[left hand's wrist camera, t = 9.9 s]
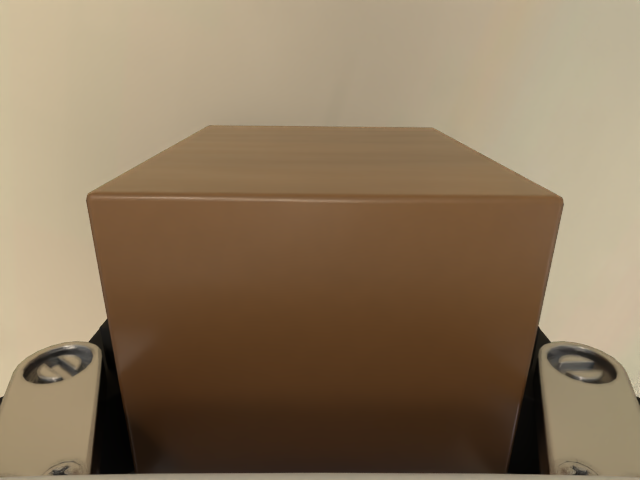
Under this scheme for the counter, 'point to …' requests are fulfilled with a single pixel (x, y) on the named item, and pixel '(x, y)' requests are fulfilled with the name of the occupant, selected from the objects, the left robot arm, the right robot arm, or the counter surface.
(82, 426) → the left robot arm
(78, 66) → the counter surface
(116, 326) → the post
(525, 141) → the counter surface
